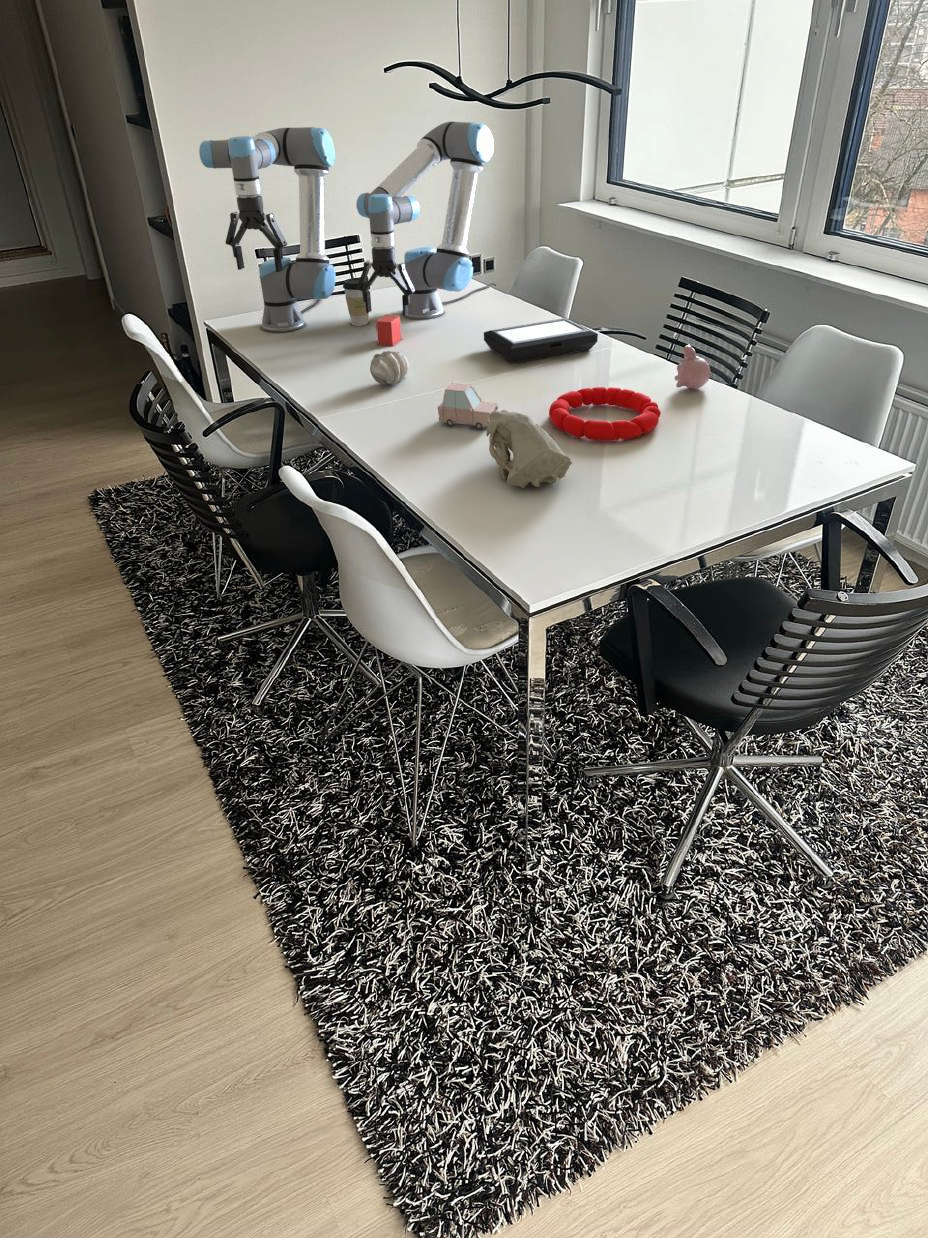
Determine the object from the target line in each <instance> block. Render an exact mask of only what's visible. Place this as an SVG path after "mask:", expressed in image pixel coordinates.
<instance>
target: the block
mask: <svg viewBox="0 0 928 1238" xmlns="http://www.w3.org/2000/svg"><path fill="white" fill-rule="evenodd" d="M376 334H377V344H378V346H390V347H394V346H395V345H396V344H397V343H399V342H400V341H401V340H402V329H401V316H400V315H392V314H385V315H383V316H381V317H380V318H379V319H377V320H376Z"/></svg>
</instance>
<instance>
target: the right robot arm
mask: <svg viewBox="0 0 928 1238" xmlns="http://www.w3.org/2000/svg"><path fill="white" fill-rule="evenodd" d="M494 149H495V141H494V137H493V135H492V132H491V130H490V128H489V127H488V126H487V125H486V124H484V123H479V122H475V121H472V122H469V121H468V122H467V121H466V122H465V121H446V122H444V123H440V124H439V125H437V126H436V127H434V128H433V129H431V130H430V131H428V132H427V133H426V134H425V135H423V137H422V138H420V139H419V140H418V142H417V145H416V148H415V149H414V150H413V151H412V152H411V153H410V154H409V155H408V156H407V157H406V158H405V159H403V160H402V161H401V163H399V164H398V166H396V168H394V169H393V170H392V172H390V173H389V174H388V175H387V176H386V178H385V179H383V180H382V181H381V182H380V183H379V185H377V186H376V187H375V188H374V189H373V190H372V191H371V192H363V193H361V194H359V195H358V196H357V199H356V203H355V204H356V210H357V213H358V214H359V215H360V216H361V217H363V218H367V219H369V229H370V245H371V247H372V248H371V259H372V262H371V261H370V260H366V261H364V262H363V269H362V272H361V275H360V277H359V278H360V280H359V283H358V286H357V290H360V291H362V293H363V301H364V302H366V313H371V312H372V296H371V291H370V288H371V286H372V285H373V284H374V282H375V281H376V279H377V278H378V277H379V278H383V277H384V278H390V279H391V280H392V281H393V282H394V283H395V285H396V286H397V287H398V288H399V290H400V291H401V292H402V294H403V295H401V301H402V302H401V303H402V316H403V317H406V318H408V319H413V320H428V319H434V318H438V317H441V316H442V315H443V314H444V305H445V304H446V305H447V304H451V303H455V302H457V301H461V300H463V299H465V298H467V297H468V296H470V295H472V294H474V293H476V292H478V291H482V290H485V289H487V288H490V287H491V286H494V287H495V286H497V284H496V283H495V282H491V283H489V284H488V285H486V286H482V287H479V288H476V289H474V290H471V291H470V292H468V293H467V294H465V295H463V296H460V297H458V298H455V299H451V300H448V301H447V300H446V301H442V300H441V298H440V295H439V291H438V290H443V291H447V292H457V293H458V292H462V291H464V290H465V289H466V288H467V287H468V286H469V285H470V283H471V280H472V279H473V275H474V266H473V262H472V261H471V260H470V258H469V257H470V253H469V252H468V250H467V243H468V237H469V231H470V226H471V225H470V224H471V219H472V211H473V207H474V201H475V200H474V199H475V196H476V195H475V193H476V189H477V182H478V175H479V174H480V173H481V172H483V171H484V167H485V164H486V163H488V162H490V161H491V159H492V157H493V154H494ZM446 160H447V161H448V160H450V161H449V164H450V166H451V167H452V170H453V171H452V176H451V183H450V189H449V195H448V203H447V209H446V216H445V221H444V227H443V235H442V239H441V243H440V245H438V246H437V247H436V248H435V247H434V246H424V247H417V248H413V249H409V250H407V251H406V252H405V253H404V256H403V257H404V259H403V260H404V261H403V262H401V263H396V249H395V247H394V246H395V234H394V232H395V231H394V225H399V224H404V223H410V222H412V221H414V220H416V219H417V218H418V217H419V215H420V212H421V211H420V209H421V208H420V203H419V201H418V200H417V199H416V197H414V196H413V195H405V193H406V192H408V190H409V189H411V187H412V186H413V185H414V184H415V183H417V182H418V180H420V178H421V177H422V176H424V175H425V174H426V172H427V171H428V170H430V169H431V168H432V167H436V166H438V165H439V164H440V163H441V162H443V161H446ZM403 195H404V196H403ZM371 268H372V269H373V272H372V274H371V276H370V277H369V279H368V282H367V283H366V284H365V286H364V283H365V280H366V279H367V277H368V275H369V272H370V269H371ZM396 270H397V271H398V272H397V271H396ZM398 273H399V274H398ZM399 275H400V276H399ZM363 286H364V287H363ZM368 289H369V291H368Z"/></svg>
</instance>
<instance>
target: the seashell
mask: <svg viewBox="0 0 928 1238" xmlns="http://www.w3.org/2000/svg"><path fill="white" fill-rule="evenodd" d="M369 371H370V374H371V377H372V378H373V380H374V381H375V382H376V383H378V384H380V385H387V384H389V385H396V384H397V385H398V384H399V383H401V382H402V380H404V378H405V377H406V376H407V375H408V372H409V361H408V359H407V357H406V355H404V354H402V353H400V352H399V351H398V352H397V351H389V350H387V351H385V350H383V351H382V353H376V354H374V355H373V357H372V359H371V361H370V365H369Z"/></svg>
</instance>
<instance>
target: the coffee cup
mask: <svg viewBox="0 0 928 1238" xmlns="http://www.w3.org/2000/svg"><path fill="white" fill-rule="evenodd" d="M359 280H360V277H351V278H347V279H345V280H344V281H343V285H342V288H343V290H344V297H345V301H346V305H347V310H348V314H349V318H350V323H351V325H353V326H357V327H359V326H365V325H368V324H369V317H370V316H369V313H370V312H369V313H366V302H364V301H363V293H362V291H360V290H357V286H358V283H359ZM368 280H369V279H367V278H366V280H365V283H364V286H365V284H366V283H367V282H368ZM364 286H363V287H364ZM368 291H370V288H369V289H368Z"/></svg>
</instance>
